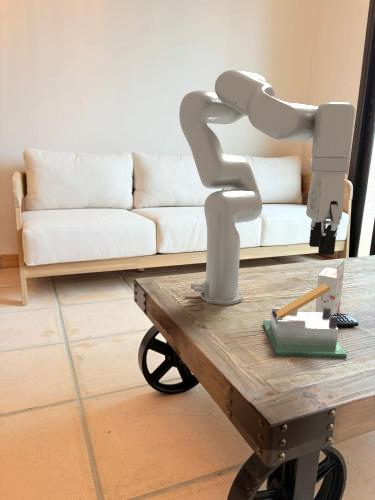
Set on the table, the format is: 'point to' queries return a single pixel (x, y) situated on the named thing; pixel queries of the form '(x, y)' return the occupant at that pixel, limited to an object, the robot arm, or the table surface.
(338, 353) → the board
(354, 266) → the table surface
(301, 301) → the orange wooden bar
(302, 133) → the robot arm
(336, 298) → the ink cartridge box
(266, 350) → the table surface
